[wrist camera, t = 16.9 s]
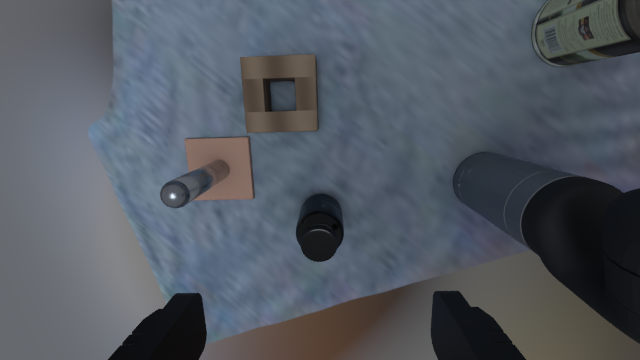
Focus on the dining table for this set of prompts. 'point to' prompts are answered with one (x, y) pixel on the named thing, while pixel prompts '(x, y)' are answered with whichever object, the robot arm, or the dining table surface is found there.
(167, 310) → the robot arm
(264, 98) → the walnut block
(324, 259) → the supplement bottle
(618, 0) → the coffee can
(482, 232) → the dining table surface
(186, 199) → the metal pin
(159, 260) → the dining table surface
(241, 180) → the terracotta mat
